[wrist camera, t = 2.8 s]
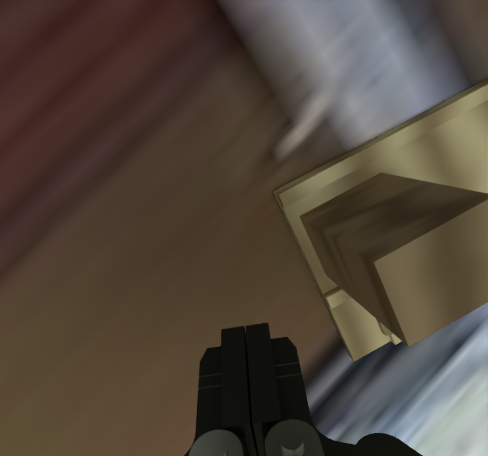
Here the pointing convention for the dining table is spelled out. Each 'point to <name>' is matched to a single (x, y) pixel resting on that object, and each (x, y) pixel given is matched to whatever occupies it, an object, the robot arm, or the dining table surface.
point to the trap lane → (400, 164)
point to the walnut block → (405, 251)
